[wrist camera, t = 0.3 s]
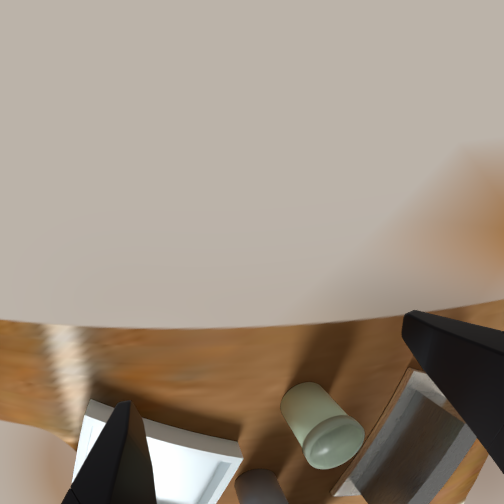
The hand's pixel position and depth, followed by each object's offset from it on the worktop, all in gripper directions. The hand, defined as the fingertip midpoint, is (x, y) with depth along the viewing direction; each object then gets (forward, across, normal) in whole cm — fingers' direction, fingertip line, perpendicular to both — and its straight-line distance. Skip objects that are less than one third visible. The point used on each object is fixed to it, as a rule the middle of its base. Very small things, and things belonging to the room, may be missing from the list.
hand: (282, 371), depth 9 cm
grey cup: (+10, +2, +25) cm, 27 cm away
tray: (+11, +11, +20) cm, 25 cm away
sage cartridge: (+12, -5, +17) cm, 21 cm away
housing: (+9, -15, +28) cm, 33 cm away
